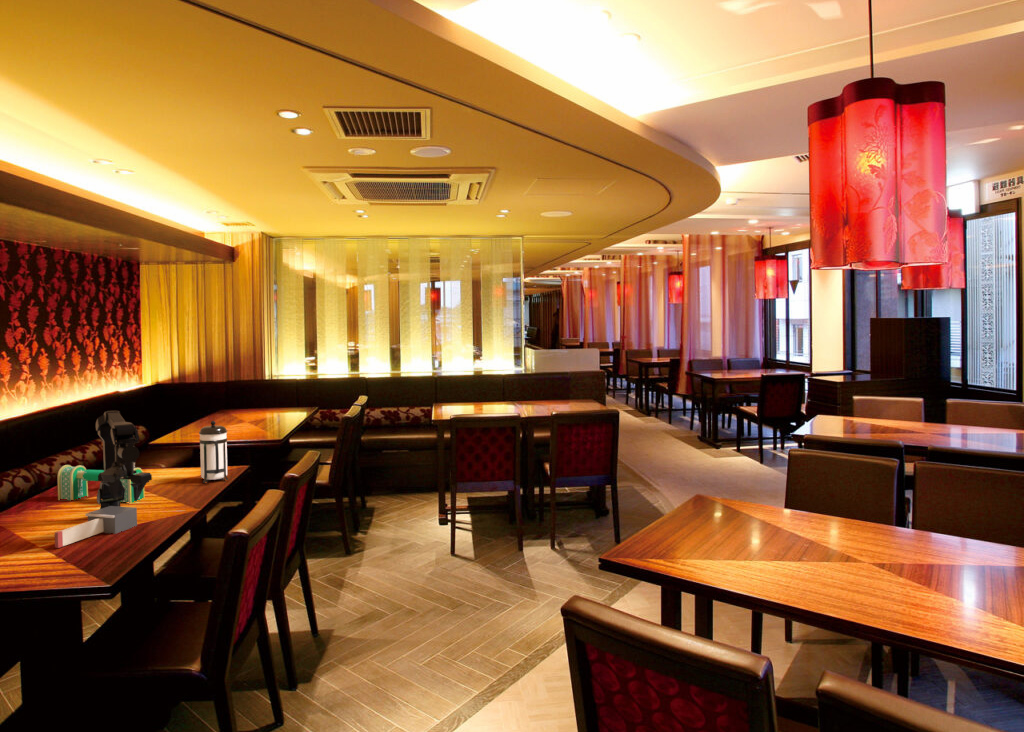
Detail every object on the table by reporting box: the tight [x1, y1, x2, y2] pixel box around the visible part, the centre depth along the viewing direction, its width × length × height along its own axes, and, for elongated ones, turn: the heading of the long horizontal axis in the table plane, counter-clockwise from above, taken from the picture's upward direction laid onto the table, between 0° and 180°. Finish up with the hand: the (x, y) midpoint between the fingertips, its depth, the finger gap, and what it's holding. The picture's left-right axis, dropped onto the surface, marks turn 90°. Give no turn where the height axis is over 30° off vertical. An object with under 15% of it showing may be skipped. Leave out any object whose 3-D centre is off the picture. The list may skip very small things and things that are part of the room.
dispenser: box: [84, 506, 138, 535], centre depth 237 cm, size 11×12×7 cm
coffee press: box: [198, 420, 229, 484], centre depth 314 cm, size 17×16×30 cm
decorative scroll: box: [57, 464, 146, 504], centre depth 279 cm, size 36×8×15 cm, turn 81°
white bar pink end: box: [54, 517, 104, 549], centre depth 224 cm, size 19×1×5 cm, turn 167°
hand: (125, 499), depth 233 cm, fingers open, 9 cm apart
